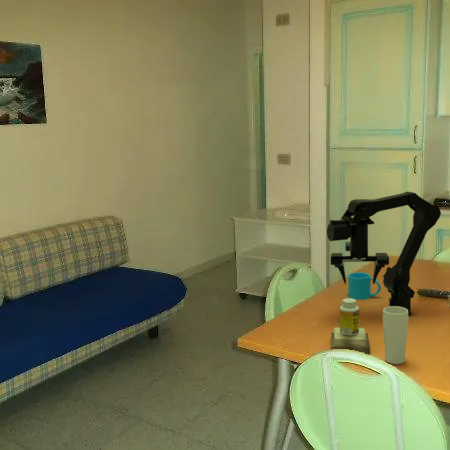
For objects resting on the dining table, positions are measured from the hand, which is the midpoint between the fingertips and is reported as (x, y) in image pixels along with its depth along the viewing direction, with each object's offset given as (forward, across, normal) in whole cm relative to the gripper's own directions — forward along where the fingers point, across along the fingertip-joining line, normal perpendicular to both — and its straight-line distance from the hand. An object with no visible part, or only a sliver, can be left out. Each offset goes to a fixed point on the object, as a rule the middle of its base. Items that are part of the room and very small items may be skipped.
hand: (359, 283), depth 195 cm
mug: (+12, -3, -23) cm, 26 cm away
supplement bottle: (+8, +4, +24) cm, 25 cm away
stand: (+12, +4, +24) cm, 27 cm away
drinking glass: (+12, -8, +34) cm, 37 cm away
